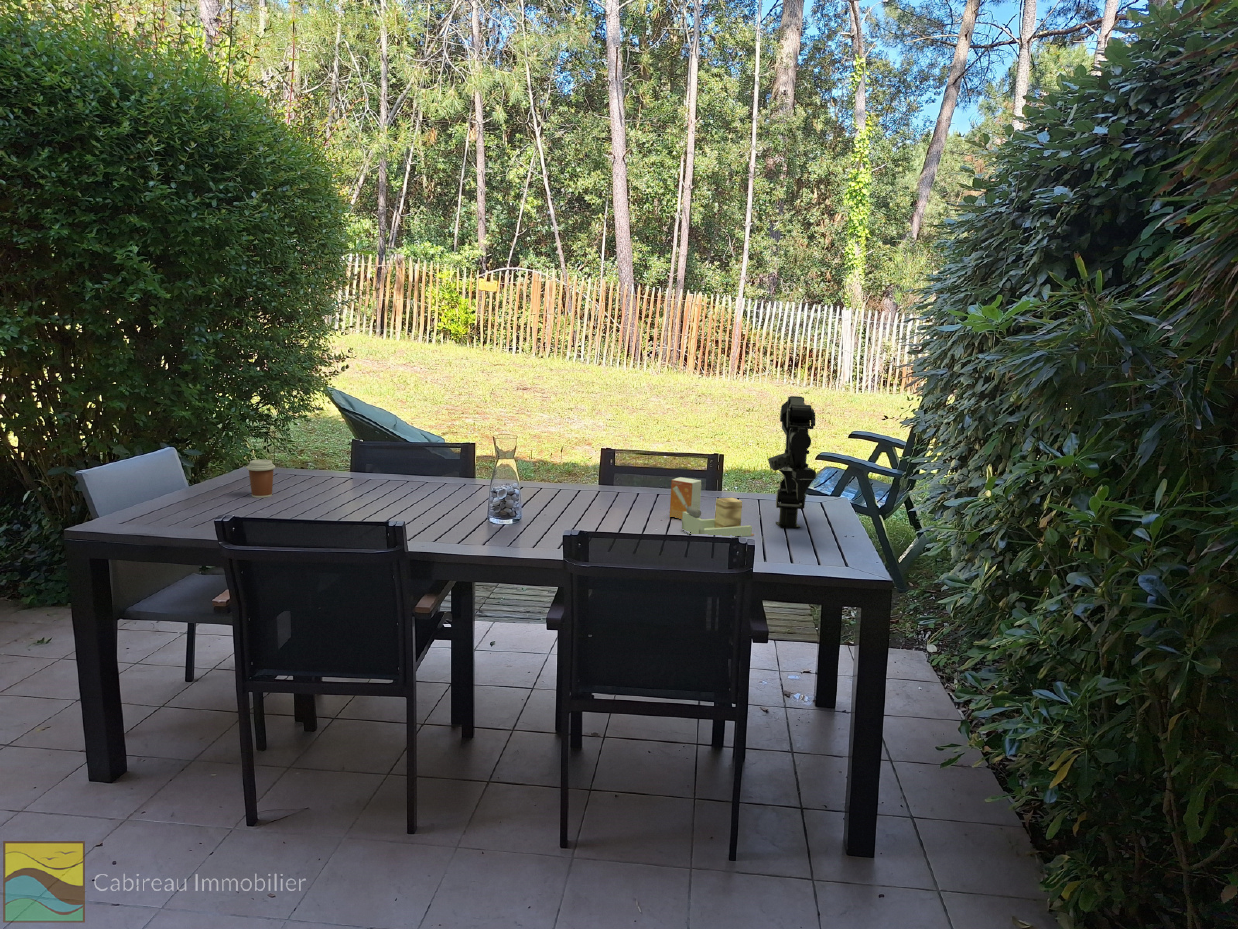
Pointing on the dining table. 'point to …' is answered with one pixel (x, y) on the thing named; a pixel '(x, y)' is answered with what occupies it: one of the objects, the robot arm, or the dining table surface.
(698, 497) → the small box
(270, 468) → the coffee cup
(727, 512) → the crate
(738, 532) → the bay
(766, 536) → the dining table surface
